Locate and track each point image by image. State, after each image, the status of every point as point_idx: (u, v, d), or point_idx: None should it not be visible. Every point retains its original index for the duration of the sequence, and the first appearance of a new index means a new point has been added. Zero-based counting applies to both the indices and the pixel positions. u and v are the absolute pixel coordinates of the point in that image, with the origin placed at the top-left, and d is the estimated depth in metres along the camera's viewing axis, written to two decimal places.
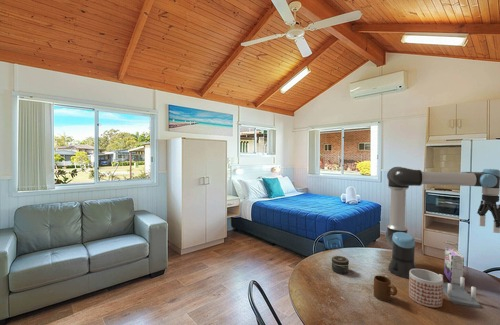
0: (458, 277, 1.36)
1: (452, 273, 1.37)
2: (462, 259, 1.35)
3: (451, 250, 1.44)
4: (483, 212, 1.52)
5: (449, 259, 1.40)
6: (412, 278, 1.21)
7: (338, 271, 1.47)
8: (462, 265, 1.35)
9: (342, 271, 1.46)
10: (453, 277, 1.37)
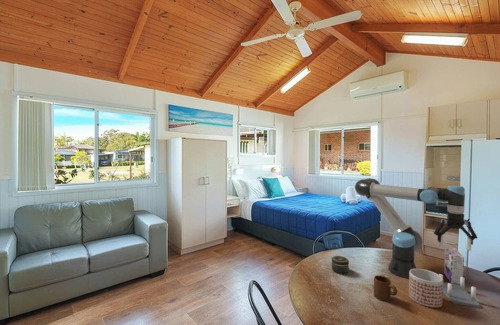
0: (458, 277, 1.36)
1: (452, 273, 1.37)
2: (462, 259, 1.35)
3: (451, 250, 1.44)
4: (465, 233, 1.40)
5: (449, 259, 1.40)
6: (412, 278, 1.21)
7: (338, 271, 1.47)
8: (462, 265, 1.35)
9: (342, 271, 1.46)
10: (453, 277, 1.37)
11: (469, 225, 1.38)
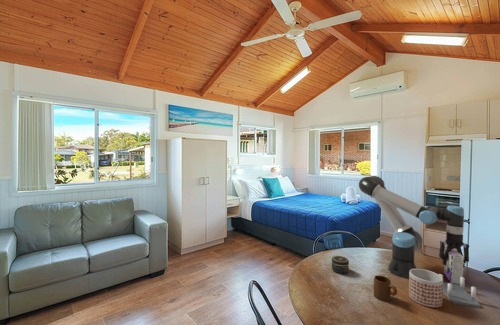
0: (458, 277, 1.36)
1: (452, 273, 1.37)
2: (462, 259, 1.35)
3: None
4: None
5: (449, 259, 1.40)
6: (412, 278, 1.21)
7: (338, 271, 1.47)
8: (462, 265, 1.35)
9: (342, 271, 1.46)
10: (453, 277, 1.37)
11: (466, 247, 1.39)
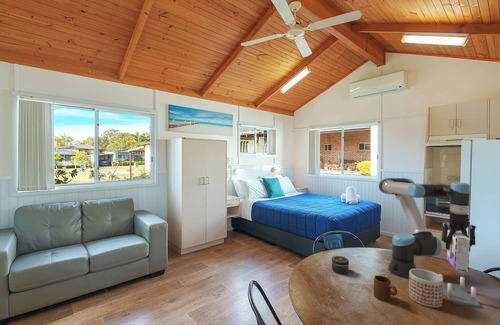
0: (463, 262, 1.20)
1: (456, 258, 1.21)
2: (468, 241, 1.19)
3: None
4: None
5: (453, 242, 1.24)
6: (412, 278, 1.21)
7: (338, 271, 1.47)
8: (468, 248, 1.19)
9: (342, 271, 1.46)
10: (458, 262, 1.21)
11: (473, 229, 1.23)
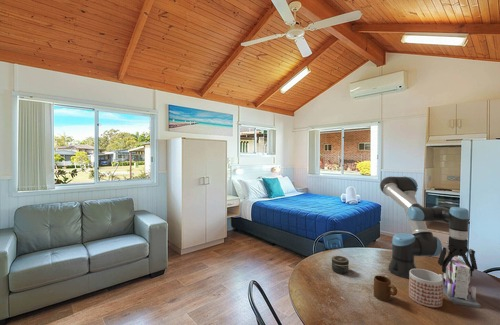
0: (463, 290, 1.20)
1: (456, 286, 1.21)
2: (468, 270, 1.19)
3: (454, 259, 1.28)
4: (465, 263, 1.25)
5: (452, 270, 1.24)
6: (412, 278, 1.21)
7: (338, 271, 1.47)
8: (467, 277, 1.19)
9: (342, 271, 1.46)
10: (457, 290, 1.21)
11: (472, 254, 1.23)
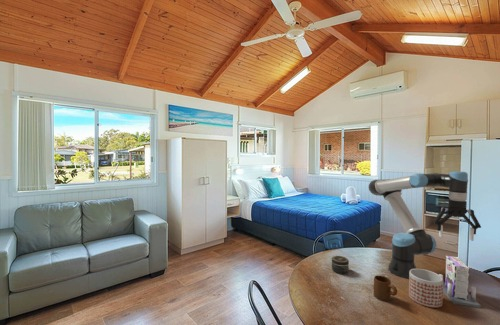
0: (462, 290, 1.20)
1: (456, 286, 1.21)
2: (467, 270, 1.19)
3: (453, 259, 1.28)
4: (468, 222, 1.31)
5: (452, 270, 1.24)
6: (412, 278, 1.21)
7: (338, 271, 1.47)
8: (467, 277, 1.19)
9: (342, 271, 1.46)
10: (457, 291, 1.21)
11: (472, 213, 1.29)
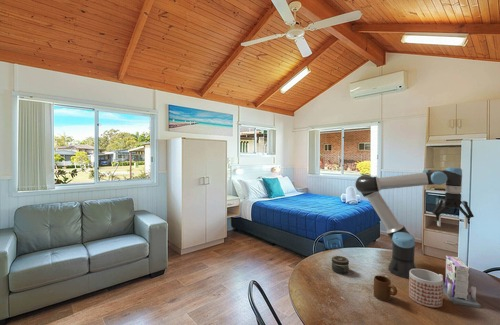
0: (462, 290, 1.20)
1: (456, 286, 1.21)
2: (467, 270, 1.19)
3: (453, 259, 1.28)
4: None
5: (452, 270, 1.24)
6: (412, 278, 1.21)
7: (338, 271, 1.47)
8: (467, 277, 1.19)
9: (342, 271, 1.46)
10: (457, 291, 1.21)
11: (466, 204, 1.45)
